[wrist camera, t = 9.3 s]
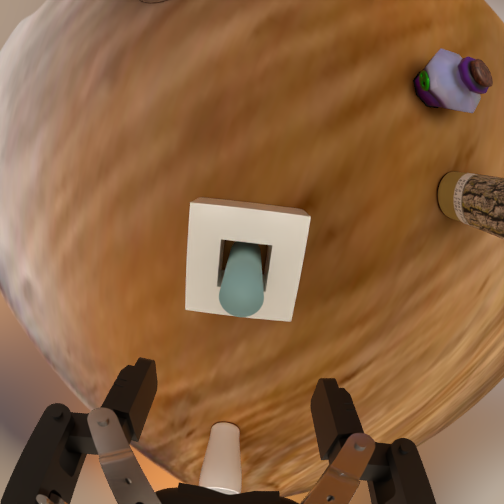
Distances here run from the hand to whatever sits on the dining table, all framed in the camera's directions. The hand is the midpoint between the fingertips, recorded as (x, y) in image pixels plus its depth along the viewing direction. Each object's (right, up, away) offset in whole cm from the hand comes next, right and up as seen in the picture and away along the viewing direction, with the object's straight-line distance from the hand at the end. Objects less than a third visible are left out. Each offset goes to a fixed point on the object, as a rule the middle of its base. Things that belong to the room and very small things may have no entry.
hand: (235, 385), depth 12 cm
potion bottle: (+25, +29, +14) cm, 41 cm away
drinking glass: (-4, -27, +32) cm, 42 cm away
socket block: (0, +6, +21) cm, 22 cm away
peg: (0, +6, +21) cm, 22 cm away
